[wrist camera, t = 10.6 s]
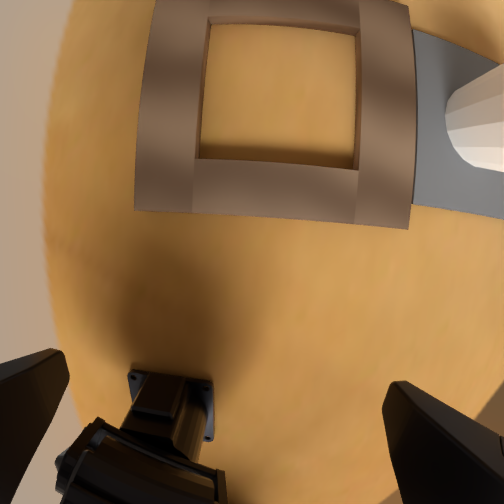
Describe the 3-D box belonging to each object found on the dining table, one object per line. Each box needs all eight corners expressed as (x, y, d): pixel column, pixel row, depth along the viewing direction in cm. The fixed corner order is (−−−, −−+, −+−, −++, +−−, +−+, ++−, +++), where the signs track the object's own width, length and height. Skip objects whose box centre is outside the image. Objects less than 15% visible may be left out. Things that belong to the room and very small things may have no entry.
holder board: (400, 226, 18) (408, 229, 17) (141, 208, 18) (134, 210, 17) (401, 13, 14) (408, 6, 13) (164, -6, 15) (159, -14, 14)
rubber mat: (512, 220, 17) (516, 222, 17) (409, 203, 18) (413, 204, 17) (512, 74, 15) (515, 73, 14) (410, 31, 15) (413, 29, 14)
